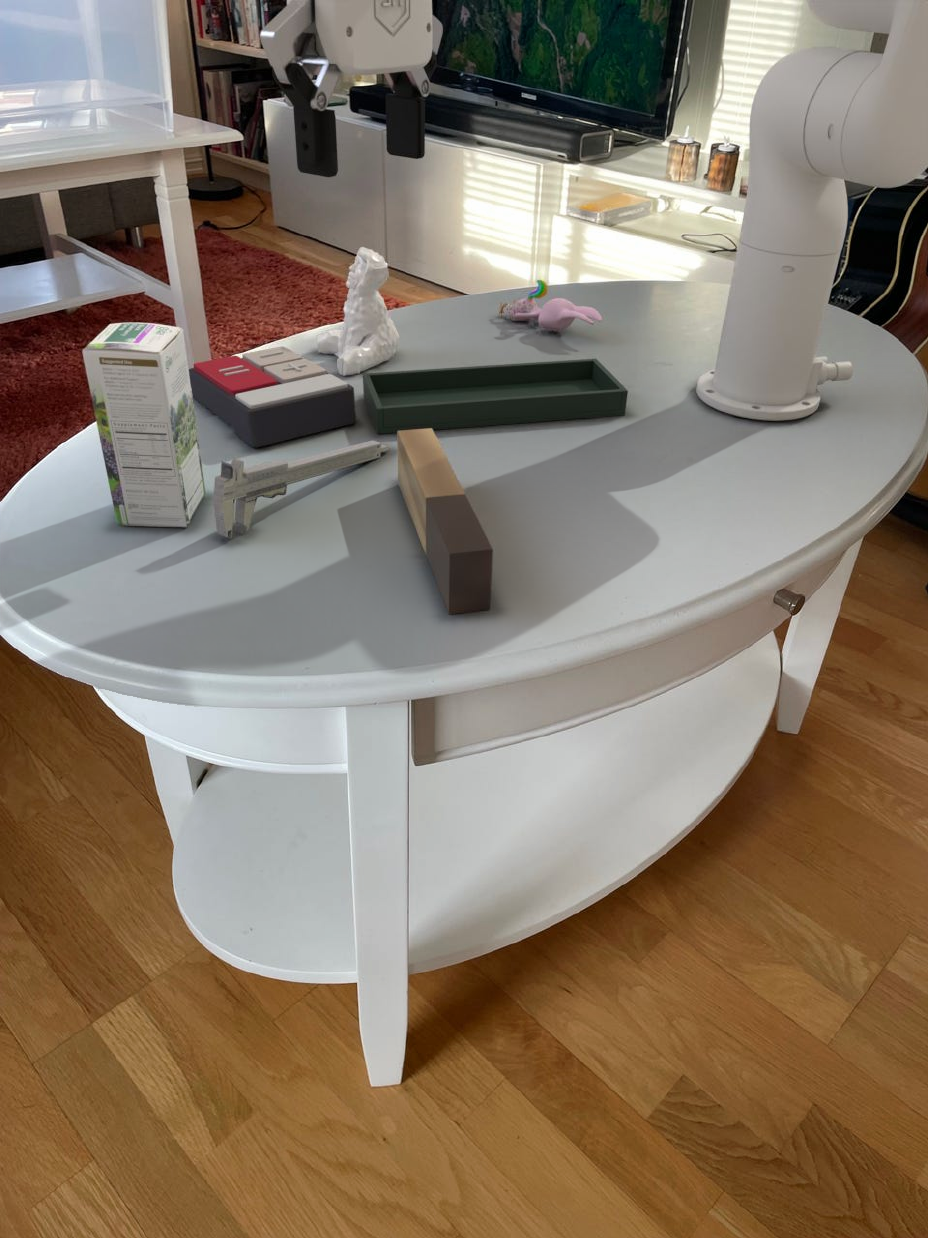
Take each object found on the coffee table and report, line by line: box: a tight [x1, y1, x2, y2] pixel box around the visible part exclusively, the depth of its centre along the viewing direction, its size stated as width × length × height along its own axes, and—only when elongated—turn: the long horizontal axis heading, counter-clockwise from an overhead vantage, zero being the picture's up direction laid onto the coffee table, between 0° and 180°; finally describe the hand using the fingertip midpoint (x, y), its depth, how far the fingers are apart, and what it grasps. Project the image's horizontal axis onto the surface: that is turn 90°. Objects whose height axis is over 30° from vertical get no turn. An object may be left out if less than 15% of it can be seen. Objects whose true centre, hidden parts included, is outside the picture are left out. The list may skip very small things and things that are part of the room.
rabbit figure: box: [498, 279, 603, 332], centre depth 113 cm, size 6×6×15 cm
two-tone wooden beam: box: [396, 428, 494, 615], centre depth 71 cm, size 3×20×5 cm, turn 14°
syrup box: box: [81, 322, 206, 528], centre depth 72 cm, size 6×6×14 cm
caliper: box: [212, 439, 391, 539], centre depth 77 cm, size 20×1×6 cm, turn 146°
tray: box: [362, 358, 629, 435], centre depth 94 cm, size 25×9×3 cm, turn 103°
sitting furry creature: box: [316, 246, 401, 377], centre depth 102 cm, size 10×9×12 cm
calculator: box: [188, 345, 357, 448], centre depth 92 cm, size 11×4×15 cm
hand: (363, 164), depth 67 cm, fingers open, 9 cm apart
